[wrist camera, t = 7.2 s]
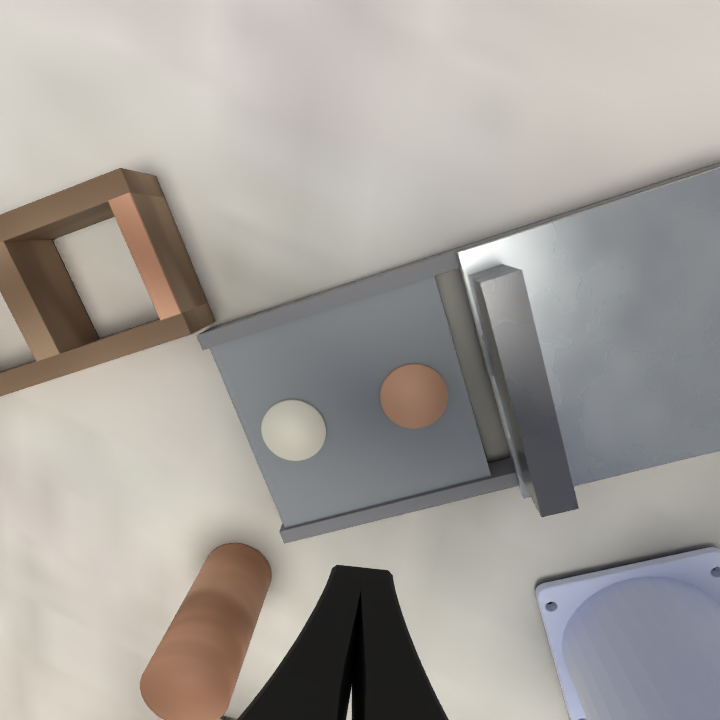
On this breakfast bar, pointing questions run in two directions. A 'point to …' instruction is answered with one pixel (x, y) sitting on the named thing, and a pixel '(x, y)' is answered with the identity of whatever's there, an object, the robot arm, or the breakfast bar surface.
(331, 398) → the pattern board
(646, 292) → the cover
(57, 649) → the breakfast bar surface
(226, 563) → the peg
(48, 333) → the socket board
